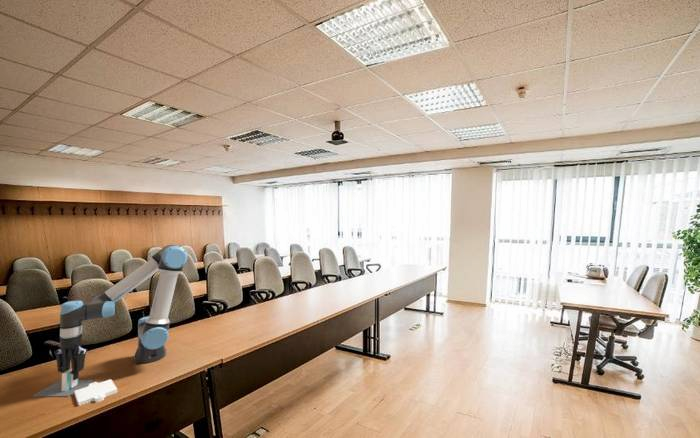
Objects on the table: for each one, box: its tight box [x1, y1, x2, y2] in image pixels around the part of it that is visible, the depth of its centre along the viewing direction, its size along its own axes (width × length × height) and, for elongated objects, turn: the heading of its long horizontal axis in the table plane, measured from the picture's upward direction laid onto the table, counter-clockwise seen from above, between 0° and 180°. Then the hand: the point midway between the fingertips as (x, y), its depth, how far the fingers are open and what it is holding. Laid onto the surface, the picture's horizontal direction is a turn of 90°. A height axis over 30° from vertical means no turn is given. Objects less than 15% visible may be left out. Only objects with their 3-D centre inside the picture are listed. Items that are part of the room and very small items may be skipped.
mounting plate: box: [73, 378, 118, 406], centre depth 132 cm, size 18×13×2 cm
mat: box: [31, 379, 95, 398], centre depth 136 cm, size 16×13×1 cm
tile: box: [61, 368, 79, 391], centre depth 136 cm, size 2×6×8 cm, turn 1°
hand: (70, 386), depth 136 cm, fingers closed on tile, 2 cm apart
